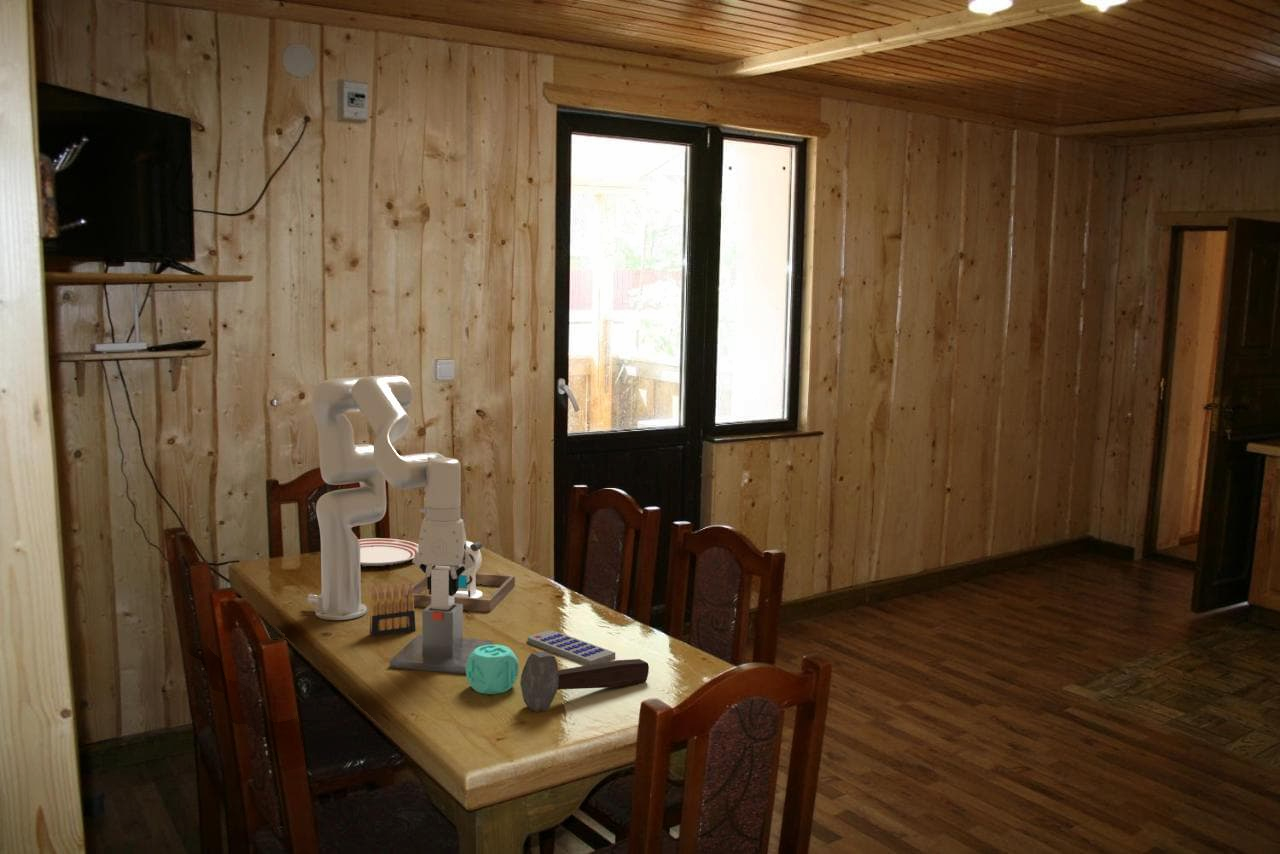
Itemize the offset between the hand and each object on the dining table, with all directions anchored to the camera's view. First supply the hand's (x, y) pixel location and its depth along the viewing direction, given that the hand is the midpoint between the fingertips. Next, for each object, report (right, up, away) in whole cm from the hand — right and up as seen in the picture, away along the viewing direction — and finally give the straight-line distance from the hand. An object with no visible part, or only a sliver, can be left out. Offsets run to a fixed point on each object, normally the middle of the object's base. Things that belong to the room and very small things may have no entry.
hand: (442, 592), depth 236 cm
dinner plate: (-36, -3, +83) cm, 91 cm away
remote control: (+28, -15, +9) cm, 33 cm away
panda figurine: (-4, -9, +49) cm, 50 cm away
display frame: (-4, -8, +49) cm, 50 cm away
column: (0, -11, +1) cm, 11 cm away
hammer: (+33, -19, -17) cm, 42 cm away
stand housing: (0, -15, +2) cm, 15 cm away
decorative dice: (+13, -18, -15) cm, 27 cm away
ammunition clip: (-15, -13, +17) cm, 26 cm away
